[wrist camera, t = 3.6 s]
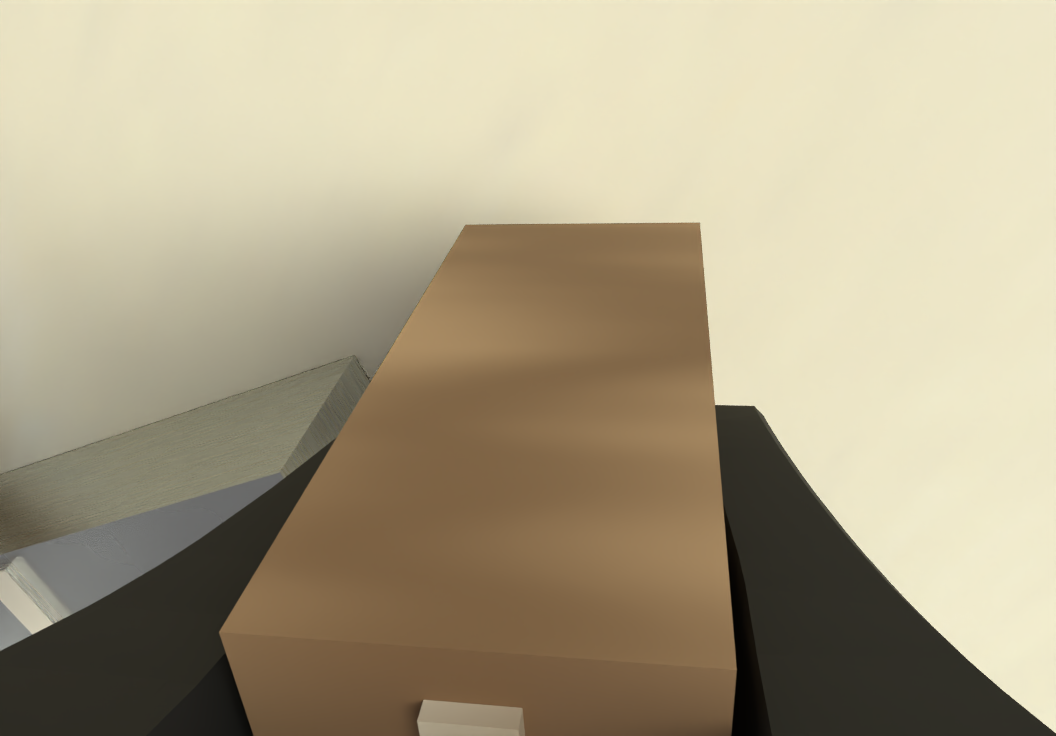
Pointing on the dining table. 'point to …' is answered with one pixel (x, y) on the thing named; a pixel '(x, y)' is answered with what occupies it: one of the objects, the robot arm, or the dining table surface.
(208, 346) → the dining table surface
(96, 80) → the dining table surface
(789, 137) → the dining table surface
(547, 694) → the peg
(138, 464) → the block with rectangular hole
